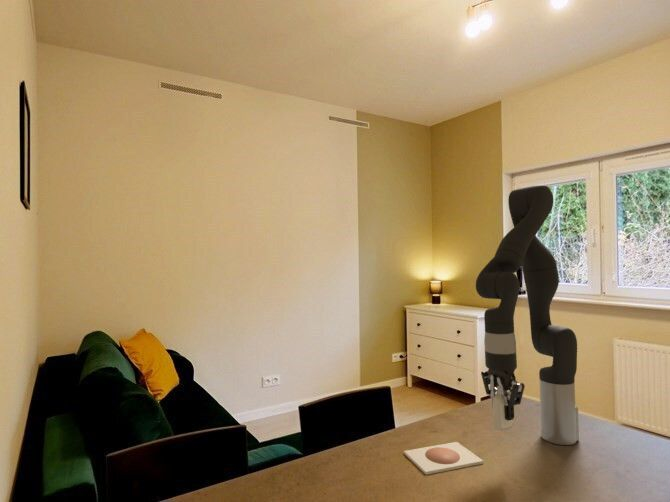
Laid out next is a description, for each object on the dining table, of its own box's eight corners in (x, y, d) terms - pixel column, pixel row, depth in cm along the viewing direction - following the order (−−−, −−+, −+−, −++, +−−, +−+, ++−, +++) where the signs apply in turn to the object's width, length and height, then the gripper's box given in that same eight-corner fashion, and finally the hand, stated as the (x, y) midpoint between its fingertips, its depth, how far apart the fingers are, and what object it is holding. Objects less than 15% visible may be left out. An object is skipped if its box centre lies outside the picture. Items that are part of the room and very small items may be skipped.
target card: (456, 444, 120) (456, 441, 120) (483, 463, 108) (483, 460, 108) (404, 453, 115) (403, 450, 115) (425, 474, 103) (425, 471, 103)
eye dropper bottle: (518, 429, 104) (516, 382, 104) (497, 431, 103) (494, 383, 103) (510, 423, 108) (508, 377, 108) (489, 424, 108) (487, 378, 108)
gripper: (533, 353, 100) (536, 424, 100) (493, 342, 114) (496, 405, 114) (507, 357, 98) (510, 429, 98) (470, 345, 112) (473, 409, 111)
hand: (503, 416), depth 106 cm, fingers closed on eye dropper bottle, 3 cm apart
